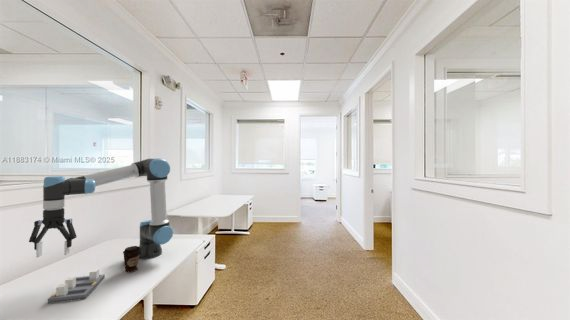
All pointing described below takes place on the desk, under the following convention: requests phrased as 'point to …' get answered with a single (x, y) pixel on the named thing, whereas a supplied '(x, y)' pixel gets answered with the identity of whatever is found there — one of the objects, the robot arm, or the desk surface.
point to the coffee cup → (131, 258)
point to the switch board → (78, 289)
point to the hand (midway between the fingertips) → (53, 255)
